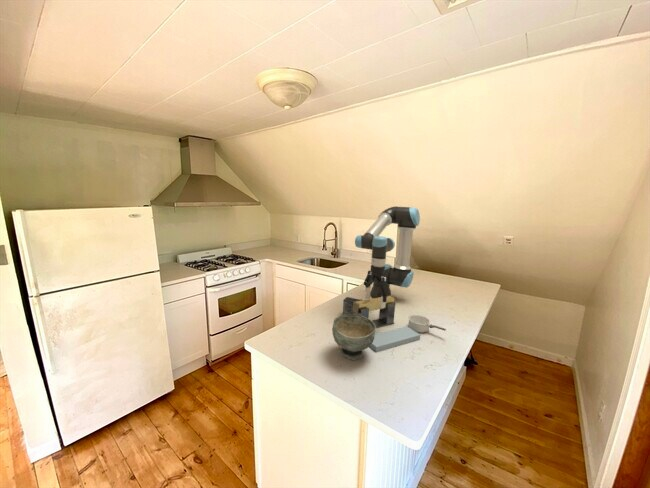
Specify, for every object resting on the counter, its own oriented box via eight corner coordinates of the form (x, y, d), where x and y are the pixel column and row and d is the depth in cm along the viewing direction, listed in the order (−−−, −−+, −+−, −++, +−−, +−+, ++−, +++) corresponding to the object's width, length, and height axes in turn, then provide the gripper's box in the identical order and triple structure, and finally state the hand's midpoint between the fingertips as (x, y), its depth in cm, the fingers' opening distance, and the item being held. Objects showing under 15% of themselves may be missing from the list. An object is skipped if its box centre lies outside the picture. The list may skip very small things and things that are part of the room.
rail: (352, 310, 146) (353, 301, 145) (390, 303, 158) (391, 295, 157) (357, 313, 142) (357, 304, 141) (395, 306, 154) (396, 297, 153)
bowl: (343, 372, 111) (345, 338, 108) (324, 347, 128) (325, 317, 125) (383, 361, 119) (385, 330, 116) (360, 339, 136) (362, 311, 133)
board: (363, 341, 135) (363, 336, 134) (406, 330, 147) (406, 326, 147) (376, 352, 126) (376, 347, 125) (420, 339, 138) (420, 334, 138)
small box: (362, 316, 163) (363, 299, 161) (359, 320, 157) (360, 303, 155) (346, 312, 167) (346, 296, 165) (342, 316, 161) (343, 299, 159)
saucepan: (439, 343, 136) (440, 333, 135) (403, 328, 150) (404, 318, 149) (448, 335, 144) (449, 325, 143) (413, 321, 158) (414, 313, 157)
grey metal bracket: (351, 326, 149) (353, 305, 147) (386, 318, 160) (387, 298, 158) (359, 332, 143) (360, 310, 141) (394, 323, 154) (396, 303, 152)
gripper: (359, 260, 155) (356, 295, 158) (387, 272, 133) (384, 312, 136) (369, 259, 158) (367, 294, 162) (399, 270, 136) (395, 310, 140)
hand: (374, 302), depth 149 cm, fingers open, 13 cm apart
